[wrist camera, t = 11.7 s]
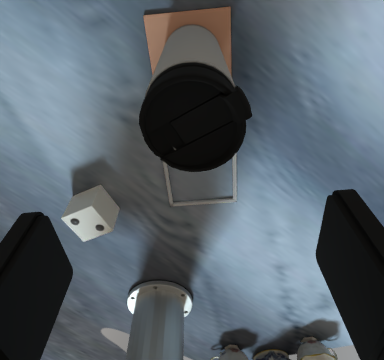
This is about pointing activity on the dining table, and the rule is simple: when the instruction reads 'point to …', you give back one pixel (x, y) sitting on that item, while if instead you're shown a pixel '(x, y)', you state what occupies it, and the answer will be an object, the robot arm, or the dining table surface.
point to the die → (91, 213)
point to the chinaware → (283, 352)
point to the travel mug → (193, 104)
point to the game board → (156, 37)
